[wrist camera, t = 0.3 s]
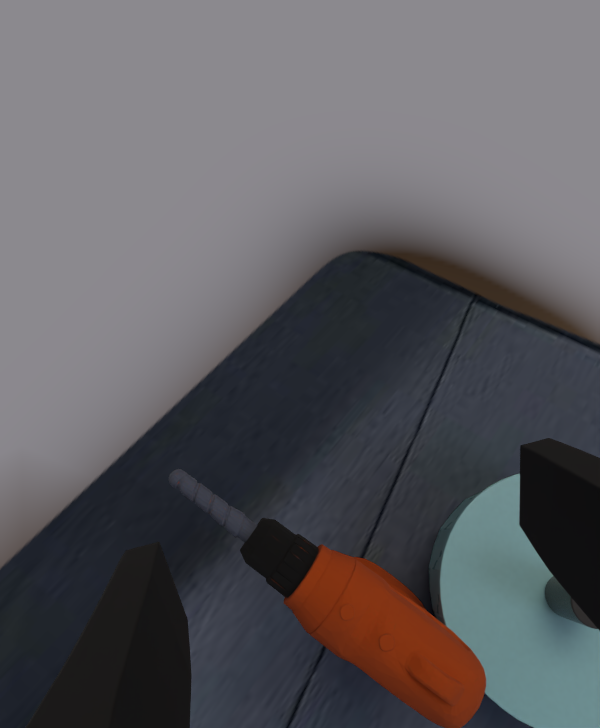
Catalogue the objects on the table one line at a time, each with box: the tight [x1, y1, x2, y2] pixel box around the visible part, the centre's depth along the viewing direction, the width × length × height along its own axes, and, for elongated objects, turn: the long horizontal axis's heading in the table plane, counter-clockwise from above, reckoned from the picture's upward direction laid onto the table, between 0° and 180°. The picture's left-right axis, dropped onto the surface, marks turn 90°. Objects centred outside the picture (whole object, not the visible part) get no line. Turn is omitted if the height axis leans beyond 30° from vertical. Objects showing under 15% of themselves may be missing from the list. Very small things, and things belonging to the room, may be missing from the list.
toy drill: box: [169, 469, 486, 728], centre depth 30 cm, size 5×19×15 cm, turn 54°
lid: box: [438, 474, 600, 728], centre depth 29 cm, size 14×14×5 cm
